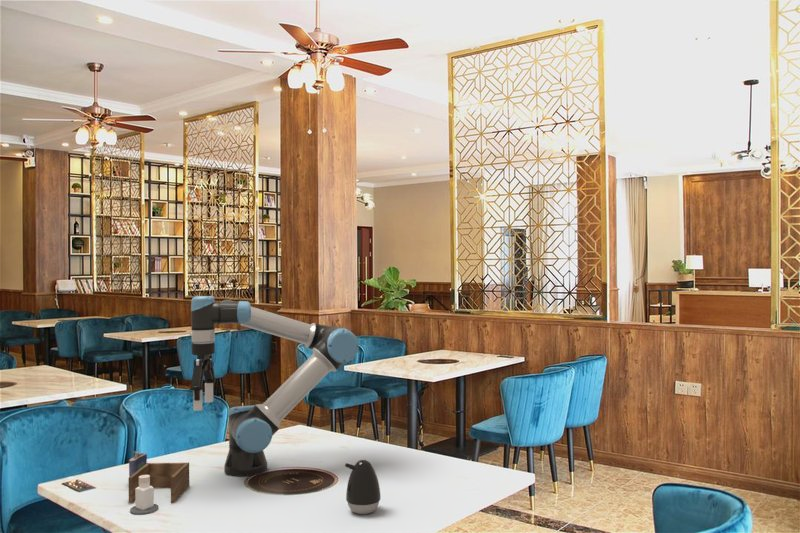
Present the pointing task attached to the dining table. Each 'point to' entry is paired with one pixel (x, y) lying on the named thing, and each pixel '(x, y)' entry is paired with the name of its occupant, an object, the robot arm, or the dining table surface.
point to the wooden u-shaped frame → (162, 478)
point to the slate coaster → (141, 512)
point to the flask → (137, 462)
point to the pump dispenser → (362, 488)
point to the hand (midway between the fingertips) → (203, 406)
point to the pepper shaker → (144, 493)
